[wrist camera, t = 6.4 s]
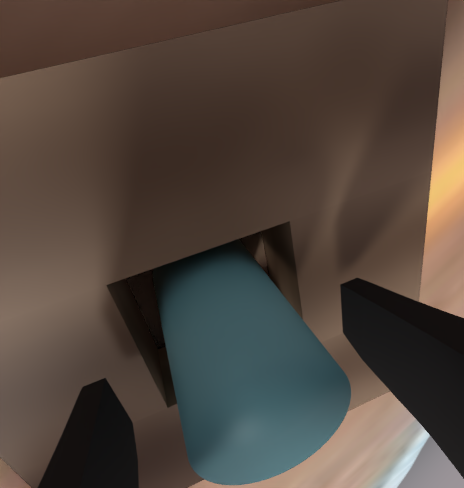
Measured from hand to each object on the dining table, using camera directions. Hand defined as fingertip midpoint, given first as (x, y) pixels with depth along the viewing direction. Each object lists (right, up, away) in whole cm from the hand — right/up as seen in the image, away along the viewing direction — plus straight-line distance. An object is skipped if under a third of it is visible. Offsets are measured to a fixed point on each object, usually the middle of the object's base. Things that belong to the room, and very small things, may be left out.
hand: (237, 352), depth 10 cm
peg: (-1, +2, +4) cm, 4 cm away
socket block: (-1, +2, +4) cm, 4 cm away
